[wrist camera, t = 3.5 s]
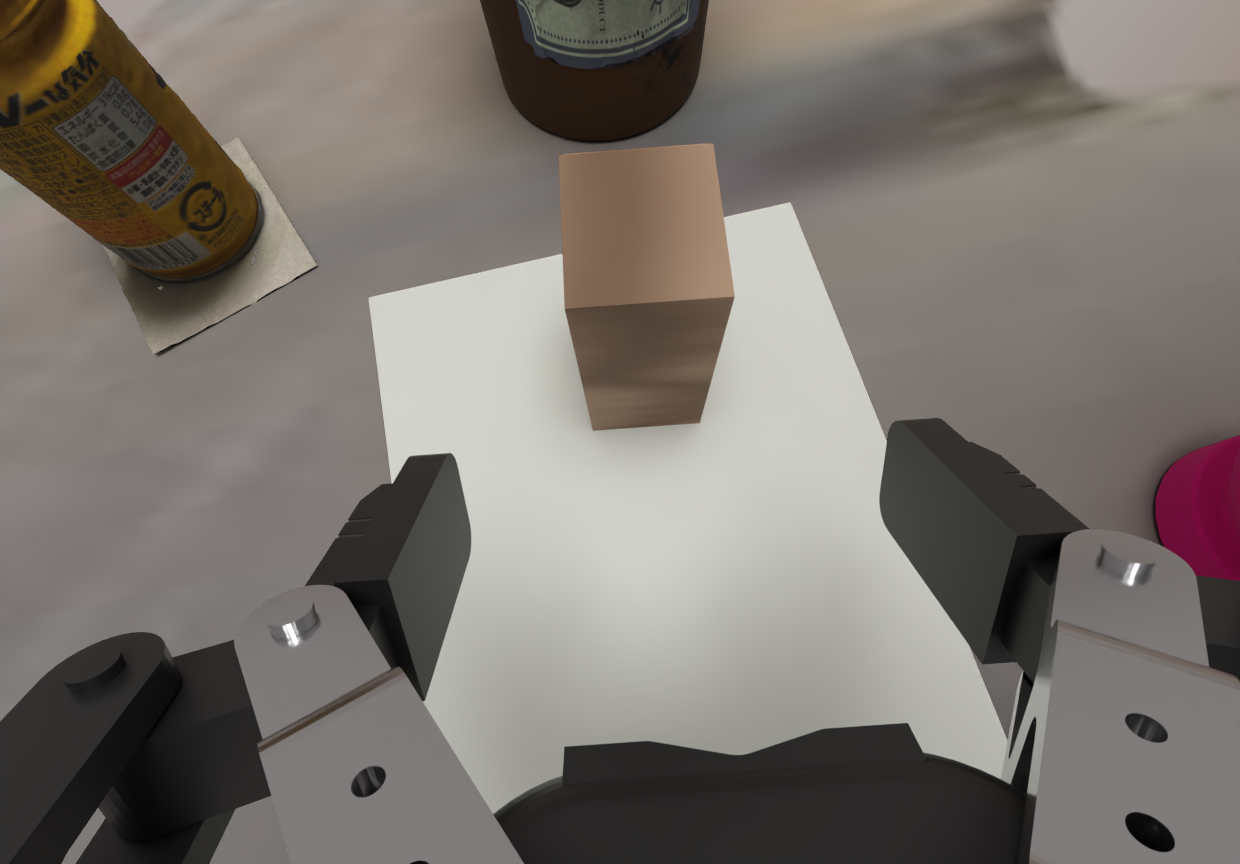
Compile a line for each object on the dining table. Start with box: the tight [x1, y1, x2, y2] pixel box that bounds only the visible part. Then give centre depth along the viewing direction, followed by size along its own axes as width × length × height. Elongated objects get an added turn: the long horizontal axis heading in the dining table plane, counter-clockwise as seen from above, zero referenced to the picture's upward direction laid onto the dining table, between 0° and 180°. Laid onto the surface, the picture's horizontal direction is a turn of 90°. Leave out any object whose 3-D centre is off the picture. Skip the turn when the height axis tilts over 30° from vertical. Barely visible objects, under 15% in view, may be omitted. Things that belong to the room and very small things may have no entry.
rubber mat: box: [369, 203, 1007, 814], centre depth 22 cm, size 18×24×1 cm
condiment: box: [0, 0, 317, 354], centre depth 21 cm, size 7×8×12 cm
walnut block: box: [559, 143, 735, 431], centre depth 19 cm, size 4×5×9 cm
